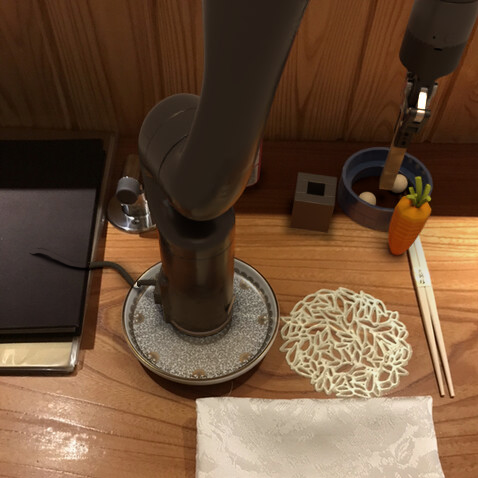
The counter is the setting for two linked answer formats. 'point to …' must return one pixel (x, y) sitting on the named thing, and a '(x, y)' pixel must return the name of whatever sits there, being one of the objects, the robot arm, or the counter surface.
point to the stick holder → (313, 202)
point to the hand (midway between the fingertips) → (400, 140)
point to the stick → (392, 165)
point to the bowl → (372, 165)
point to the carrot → (409, 218)
